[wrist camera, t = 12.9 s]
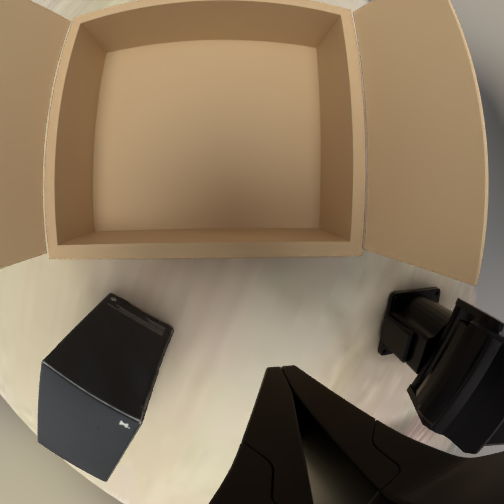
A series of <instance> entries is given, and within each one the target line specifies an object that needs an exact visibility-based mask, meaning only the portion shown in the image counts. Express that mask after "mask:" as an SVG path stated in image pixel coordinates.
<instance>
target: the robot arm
mask: <svg viewBox="0 0 504 504" xmlns="http://www.w3.org/2000/svg"><path fill="white" fill-rule="evenodd" d="M395 296H396V298H395V299H394V297H395ZM439 296H440V289H439V288H437V287H433V288H425V289H417V290H407V291H398V292H393V293H392V294H391V295H390V297H389V303H388V308H387V313H386V317H385V322H384V327H383V331H382V336H381V341H380V345H379V349H378V352H379V354H380V355H388V354H392V353H394V354H395V355H396V356H397V357H398V358H399V359H400V360H401V361H402V362H403V363H404V362H406V363H407V365H408V366H409V367H410V368H411V369H412V370H413V371H414V372H415V373H416V374H418V375H417V377H416V378H415V380H414V381H413V383H412V384H410V386H409V387H408V389H407V392H408V394H409V396H410V398H411V400H412V402H413V405H414V407H415V409H416V411H417V413H418V416H419V418H420V420H421V422H422V424H423V425H424V426H426V427H427V428H428V429H430V430H432V431H434V432H435V433H438V434H441V435H444V436H446V437H447V438H448V439H450V440H451V441H452V442H453V443H454V444H455V445H456V446H458V447H459V448H460V449H461V450H462V451H463V452H465V453H471V454H476V453H478V452H479V451H480V450H481V448H483V447H484V446H491V445H502V444H503V445H504V323H503V322H501V321H500V320H498V319H496V318H495V317H493V316H491V315H489V314H488V313H485V312H484V311H482V310H480V309H478V308H476V307H474V306H473V305H471V304H469V303H467V302H465V301H463V300H461V299H459V298H458V299H457V301H456V306H455V308H454V310H453V312H452V311H450V310H448V309H447V308H445V307H443V306H442V305H440V304H438V301H439ZM209 504H504V451H503V452H499V453H495V454H491V455H486V456H481V457H476V458H464V457H458V456H455V455H452V454H449V453H446V452H444V451H441V450H438V449H436V448H433V447H431V446H428V445H426V444H423V443H421V442H418V441H416V440H414V439H412V438H409V437H407V436H405V435H403V434H401V433H399V432H397V431H395V430H394V429H392V428H390V427H388V426H386V425H385V424H383V423H381V422H380V421H378V420H376V421H375V418H373V417H371V416H370V415H368V414H367V413H365V412H363V411H362V410H360V409H359V408H357V407H356V406H354V405H352V404H351V403H349V402H348V401H346V400H345V399H343V398H342V397H340V396H339V395H337V394H336V393H334V392H333V391H331V390H330V389H328V388H327V387H325V386H324V385H322V384H321V383H319V382H318V381H317V380H315V379H314V378H312V377H311V376H309V375H308V374H306V373H305V372H304V371H302V370H301V369H299V368H298V367H297V366H295V365H291V366H282V367H268V368H267V369H266V371H265V374H264V378H263V381H262V384H261V387H260V390H259V393H258V396H257V399H256V402H255V405H254V408H253V411H252V414H251V416H250V419H249V422H248V425H247V428H246V431H245V433H244V436H243V439H242V443H241V444H240V447H239V449H238V452H237V454H236V457H235V459H234V461H233V464H232V466H231V468H230V470H229V472H228V474H227V475H226V477H225V479H224V481H223V482H222V484H221V486H220V487H219V489H218V490H217V492H216V493H215V495H214V496H213V498H212V499H211V501H210V502H209Z"/></svg>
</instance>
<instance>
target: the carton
mask: <svg viewBox="0 0 504 504" xmlns="http://www.w3.org/2000/svg"><path fill="white" fill-rule="evenodd" d="M365 194H366V139H365V117H364V102H363V90H362V80H361V71H360V62H359V55H358V48H357V42H356V36H355V30H354V24H353V19H352V14H351V10H349V9H345V8H341V7H338V6H334V5H329V4H325V3H320V2H316V1H311V0H139V1H133V2H129V3H124V4H120V5H116V6H112V7H108V8H104V9H101V10H98V11H94V12H91V13H88V14H85V15H82V16H79V17H76V18H73V21H72V24H71V27H70V30H69V33H68V36H67V39H66V42H65V45H64V49H63V52H62V56H61V59H60V63H59V67H58V71H57V76H56V80H55V85H54V90H53V95H52V101H51V107H50V114H49V122H48V130H47V140H46V154H45V218H46V232H47V242H48V251H49V259H180V258H268V257H332V256H362V246H363V233H364V217H365Z"/></svg>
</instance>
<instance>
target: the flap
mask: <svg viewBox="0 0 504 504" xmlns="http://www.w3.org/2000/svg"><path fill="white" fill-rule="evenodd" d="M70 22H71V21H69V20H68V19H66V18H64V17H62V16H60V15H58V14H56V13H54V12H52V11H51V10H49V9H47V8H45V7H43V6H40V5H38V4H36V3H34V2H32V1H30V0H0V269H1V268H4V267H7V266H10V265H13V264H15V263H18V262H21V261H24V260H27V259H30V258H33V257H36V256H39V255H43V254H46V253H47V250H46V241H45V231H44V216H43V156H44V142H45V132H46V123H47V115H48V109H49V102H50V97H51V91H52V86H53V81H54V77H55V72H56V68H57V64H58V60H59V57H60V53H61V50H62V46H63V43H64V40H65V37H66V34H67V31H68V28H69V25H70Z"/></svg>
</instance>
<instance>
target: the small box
mask: <svg viewBox="0 0 504 504" xmlns="http://www.w3.org/2000/svg"><path fill="white" fill-rule="evenodd" d="M173 332H174V331H173V329H172V328H170V327H169V326H168V325H165V324H163V323H161V322H159V321H158V320H155V319H153V318H152V317H150V316H148V315H147V314H145V313H143V312H141V311H140V310H138V309H136V308H135V307H133V306H131V305H130V304H129V303H128V302H126V301H124V300H122V299H120V298H119V297H116V296H115V295H113V294H111V293H110V294H109V295H108V296H107V297H106V298H104V299H103V300H102V301H101V302H100V303H99V304H98V305H97V306H96V307H95V308H94V309H93V310H92V311H91V312H90V313H89V314H88V315H87V316H86V317H85V318H84V319H83V320H82V321H81V322H80V323H79V324H78V325H77V326H76V327H75V328H74V329H73V330H72V331H71V332H70V333H69V334H68V335H67V336H66V337H65V338H64V339H63V340H62V341H61V342H60V343H59V344H58V345H57V346H56V348H55V349H54V350H53V351H52V352H51V353H50V354H49V355H48V356H47V357H46V358H45V359H44V360H42V364H41V373H40V383H39V398H38V442H39V443H40V444H42V445H43V446H44V447H46V448H47V449H49V450H50V451H52V452H54V453H55V454H57V455H58V456H60V457H61V458H63V459H65V460H66V461H68V462H70V463H71V464H73V465H75V466H76V467H78V468H80V469H82V470H83V471H85V472H87V473H89V474H91V475H93V476H94V477H96V478H99V479H100V480H102V481H105V482H106V481H107V480H108V479H109V477H110V476H111V474H112V472H113V471H114V469H115V467H116V466H117V464H118V463H119V461H120V459H121V458H122V456H123V454H124V453H125V451H126V449H127V448H128V446H129V444H130V443H131V441H132V440H133V438H134V436H135V435H136V433H137V431H138V430H139V428H140V426H141V425H142V422H143V420H144V416H145V413H146V410H147V407H148V403H149V400H150V397H151V393H152V391H153V387H154V384H155V382H156V378H157V375H158V373H159V368H160V366H161V363H162V360H163V357H164V355H165V352H166V349H167V347H168V344H169V342H170V339H171V337H172V334H173Z"/></svg>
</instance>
